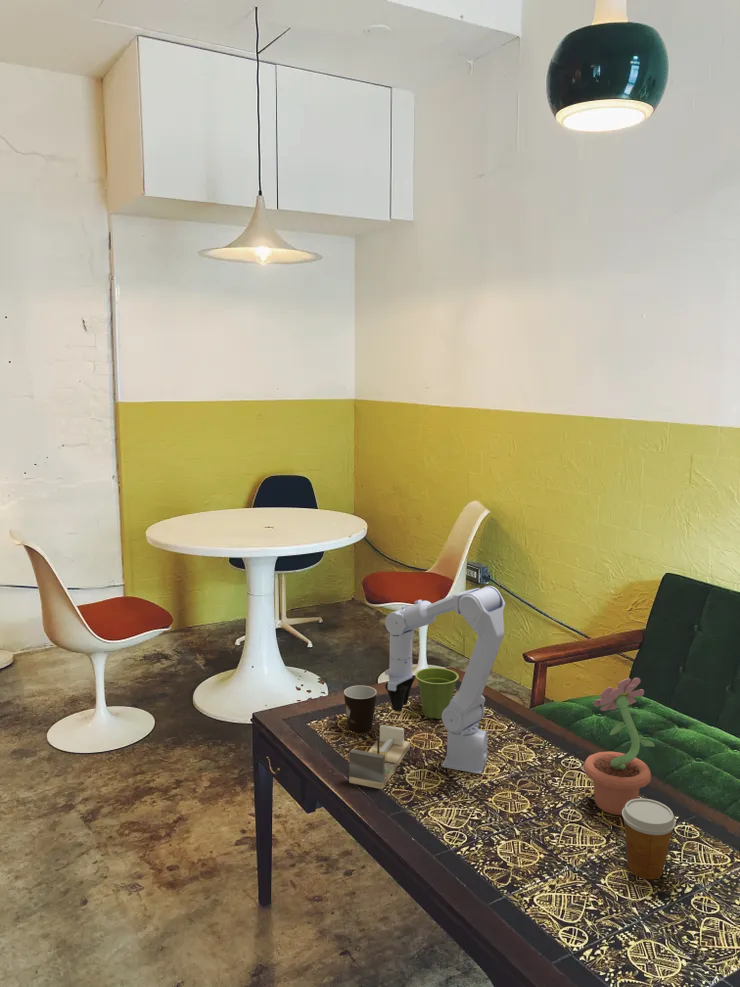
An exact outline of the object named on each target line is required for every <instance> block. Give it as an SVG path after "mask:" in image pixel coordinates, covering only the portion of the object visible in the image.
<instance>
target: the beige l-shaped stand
mask: <svg viewBox="0 0 740 987" xmlns="http://www.w3.org/2000/svg"><path fill="white" fill-rule="evenodd" d="M384 744H385V742H381V741H380V749H381V748H382V746H383V745H384ZM410 748H411V741H408V740H404V744H403V745H398V744H392V746H391V747H390V748H389V750H388V751H387V762H393V763H395V764H390V763H385V755H382V754H376V753H371V752H372V750H375V751H377V740H376V741H375V743H373V745H372V746H371V747H370V749H369V751H365V750H359V749H355V748H354V749H353V748H351V749H350V751H349V753H348V754H349V755H348V756H349V760H348V762H349V766H348V768H349V770H348V772H349V775H348V777H349V779H348V781H349V784H355V785H360V786H364V787H369V788H374V789H379V790H383V789H384V787H385V786H386V784H387V783H388V781H389V780H390V778H391V777H392V776H393V774H394V772H395V771H396V770H397V768H398V766H399V765H400V763H401V762H402V760H403V758H404V757H405V756H406V754H407V753H408V751H409V750H410ZM380 749H379V750H380Z"/></svg>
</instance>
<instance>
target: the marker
mask: <svg viewBox="0 0 740 987" xmlns="http://www.w3.org/2000/svg"><path fill="white" fill-rule="evenodd" d="M376 741H377V751H375V750H372V752H371V753H376V754H382V755H385V763H390V764H395V763H393V762H387V753H386V752H381V751H379V749H380V736H377V740H376Z"/></svg>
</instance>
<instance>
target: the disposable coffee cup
mask: <svg viewBox="0 0 740 987" xmlns="http://www.w3.org/2000/svg"><path fill="white" fill-rule="evenodd" d="M621 816H622V818H623V822H624V833H625V847H626V850H625V851H626V860H627V861H626V863H627V868H628V871H629V872H630V873H632V875H634V876H636V877H638V878H640V879H644V880H657V879H659V878H661V877H662V876H663V873H664V868H665V863H666V860H667V853H668V850H669V846H670V841H671V837H672V831H673V830H674V828H675V826H676V825H677V824H676V818H675V817H674V813H673V810H671V808H670V807H668V806H667V805H665V804H664V803H662V802H660V801H657V800H654V799H651V798H650V799H649V798H639V797H638V799H632V800H630V801H628V802H627V803H626V804H625V807H624V808H623V810H622V815H621Z"/></svg>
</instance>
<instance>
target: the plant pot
mask: <svg viewBox="0 0 740 987" xmlns="http://www.w3.org/2000/svg"><path fill="white" fill-rule="evenodd" d="M414 676H415V679H417V683H418V688H419V694H420V699H421V700H420V701H421V708H422V713H423V716H424V717H426V718H427V719H428V718H429V719H437V720H442V712H443V710H444V709H445V708H446V707H448V705H449V703H450V701H451V699H452V698H453V697H454V691H455V688H456V686H457V681H458V679H459V678H460V676H459V674H458V673H457V671H454V670H452V669H448V668H444V667H425V668H422V669H420V670H418V671H417V672H415V675H414Z"/></svg>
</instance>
